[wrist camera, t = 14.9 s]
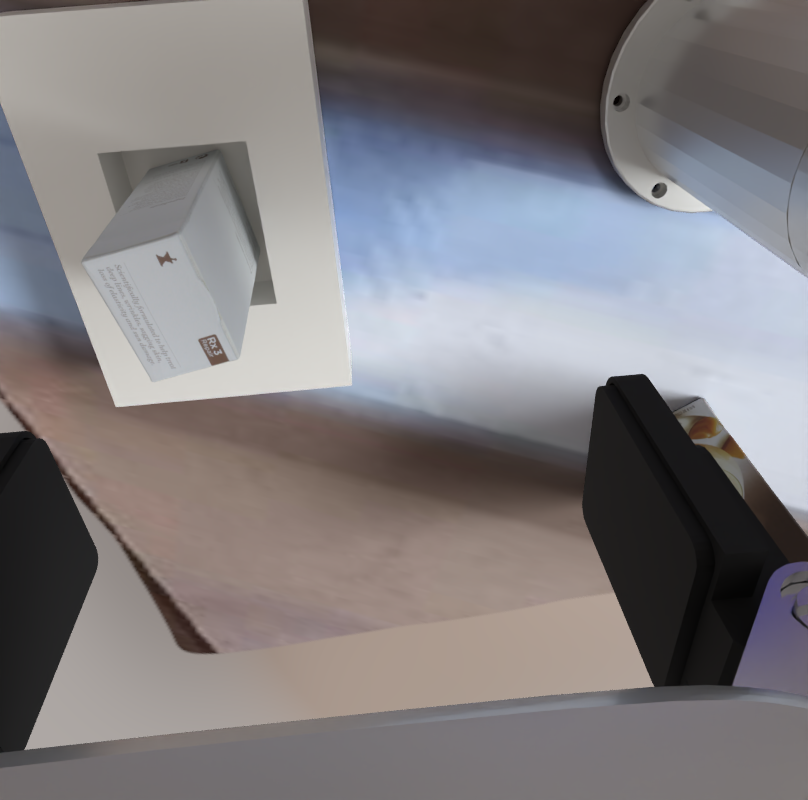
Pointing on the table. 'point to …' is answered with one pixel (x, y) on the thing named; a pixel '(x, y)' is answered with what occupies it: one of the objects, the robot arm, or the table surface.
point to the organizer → (178, 139)
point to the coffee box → (744, 478)
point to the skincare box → (179, 267)
